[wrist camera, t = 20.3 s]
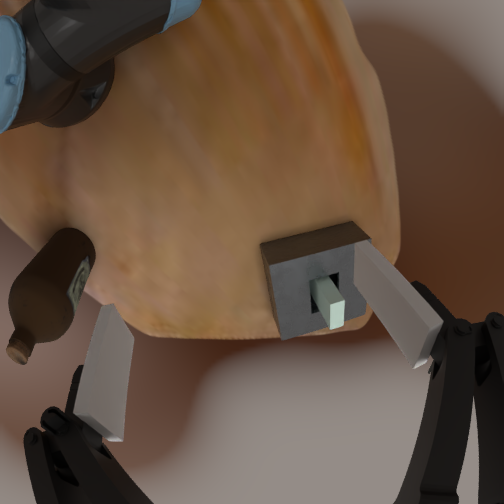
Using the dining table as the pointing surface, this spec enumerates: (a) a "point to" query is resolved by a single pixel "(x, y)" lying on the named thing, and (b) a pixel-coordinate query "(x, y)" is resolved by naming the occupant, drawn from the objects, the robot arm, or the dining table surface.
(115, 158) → the dining table surface
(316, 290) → the pale green flat block
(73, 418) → the robot arm
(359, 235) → the grey slotted box
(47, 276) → the olive oil
